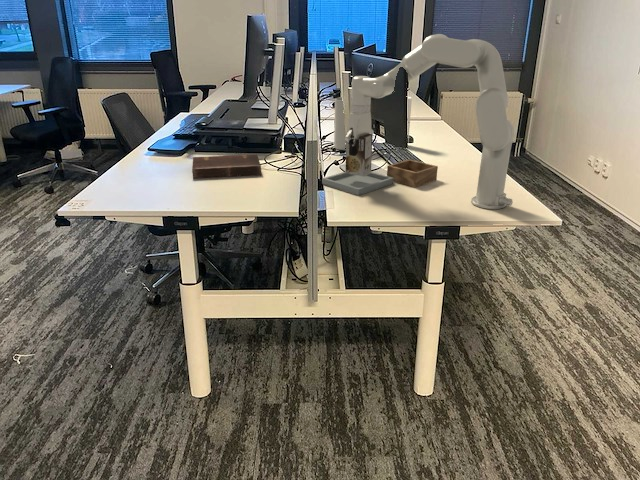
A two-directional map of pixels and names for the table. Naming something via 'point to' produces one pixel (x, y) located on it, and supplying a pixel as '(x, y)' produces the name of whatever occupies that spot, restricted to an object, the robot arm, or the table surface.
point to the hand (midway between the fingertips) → (359, 153)
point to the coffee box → (360, 156)
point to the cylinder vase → (339, 125)
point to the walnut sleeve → (412, 173)
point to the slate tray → (357, 182)
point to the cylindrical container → (409, 113)
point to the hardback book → (226, 166)
